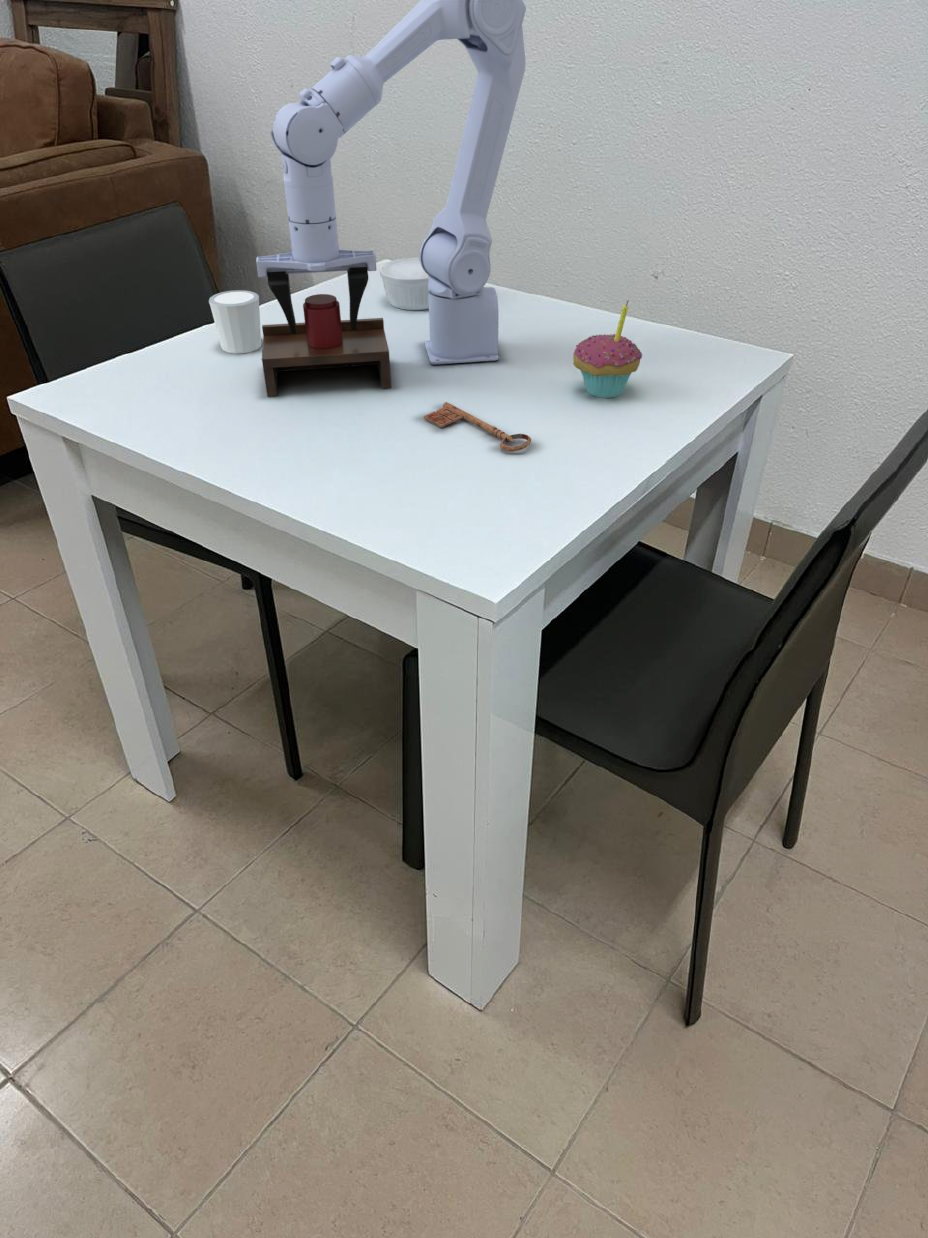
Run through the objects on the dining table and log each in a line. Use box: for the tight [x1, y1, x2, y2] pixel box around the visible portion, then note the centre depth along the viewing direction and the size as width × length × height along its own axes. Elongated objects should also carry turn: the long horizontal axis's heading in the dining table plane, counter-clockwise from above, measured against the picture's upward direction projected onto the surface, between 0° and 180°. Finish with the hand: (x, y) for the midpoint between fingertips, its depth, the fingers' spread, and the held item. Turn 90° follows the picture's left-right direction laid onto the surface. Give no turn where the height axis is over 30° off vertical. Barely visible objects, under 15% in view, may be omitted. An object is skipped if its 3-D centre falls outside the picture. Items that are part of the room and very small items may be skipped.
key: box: [423, 401, 532, 452], centre depth 110 cm, size 6×1×15 cm
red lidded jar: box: [302, 293, 343, 349], centre depth 118 cm, size 5×5×6 cm
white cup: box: [208, 289, 262, 355], centre depth 130 cm, size 7×7×7 cm
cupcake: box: [572, 299, 644, 399], centre depth 115 cm, size 9×8×12 cm
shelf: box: [261, 317, 392, 398], centre depth 121 cm, size 16×9×6 cm, turn 99°
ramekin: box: [379, 256, 429, 311], centre depth 146 cm, size 11×11×5 cm
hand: (323, 329), depth 119 cm, fingers open, 7 cm apart
